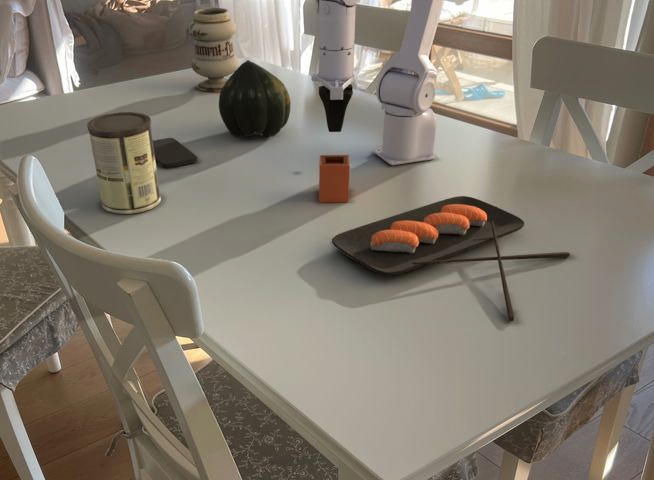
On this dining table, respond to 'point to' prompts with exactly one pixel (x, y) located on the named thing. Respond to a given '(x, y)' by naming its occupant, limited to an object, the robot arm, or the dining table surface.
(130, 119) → the coffee can
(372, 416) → the dining table surface
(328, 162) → the orange open-ended box
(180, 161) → the phone
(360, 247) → the sushi plate
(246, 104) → the squash
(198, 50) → the apothecary jar
